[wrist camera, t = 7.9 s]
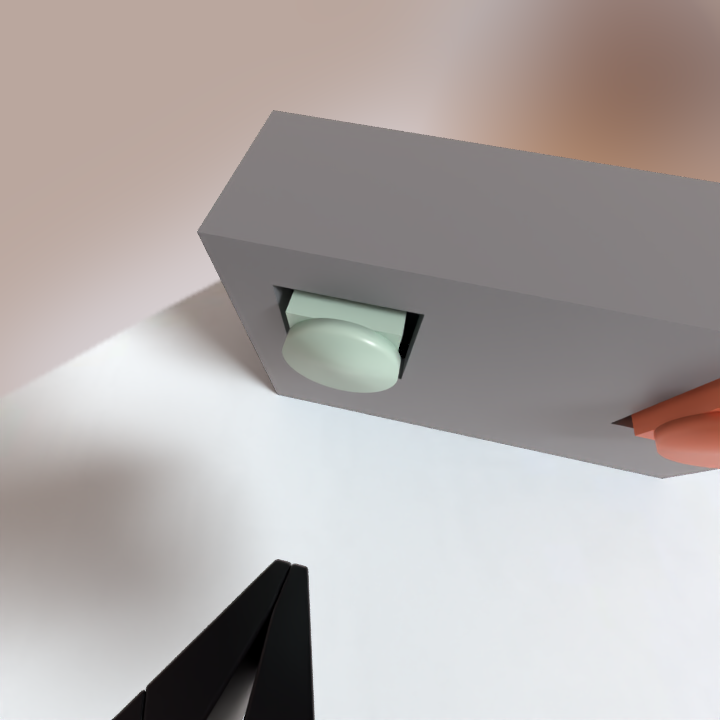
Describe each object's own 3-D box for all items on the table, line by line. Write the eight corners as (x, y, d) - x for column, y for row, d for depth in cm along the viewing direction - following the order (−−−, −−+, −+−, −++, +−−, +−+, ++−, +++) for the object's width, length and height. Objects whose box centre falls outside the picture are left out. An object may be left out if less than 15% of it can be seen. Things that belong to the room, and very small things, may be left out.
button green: (390, 400, 13) (407, 351, 9) (291, 379, 13) (271, 323, 10) (407, 306, 15) (426, 237, 12) (321, 290, 15) (314, 217, 12)
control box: (662, 478, 18) (1102, 403, 7) (277, 394, 19) (197, 231, 9) (642, 376, 20) (943, 219, 10) (307, 309, 22) (272, 110, 11)
